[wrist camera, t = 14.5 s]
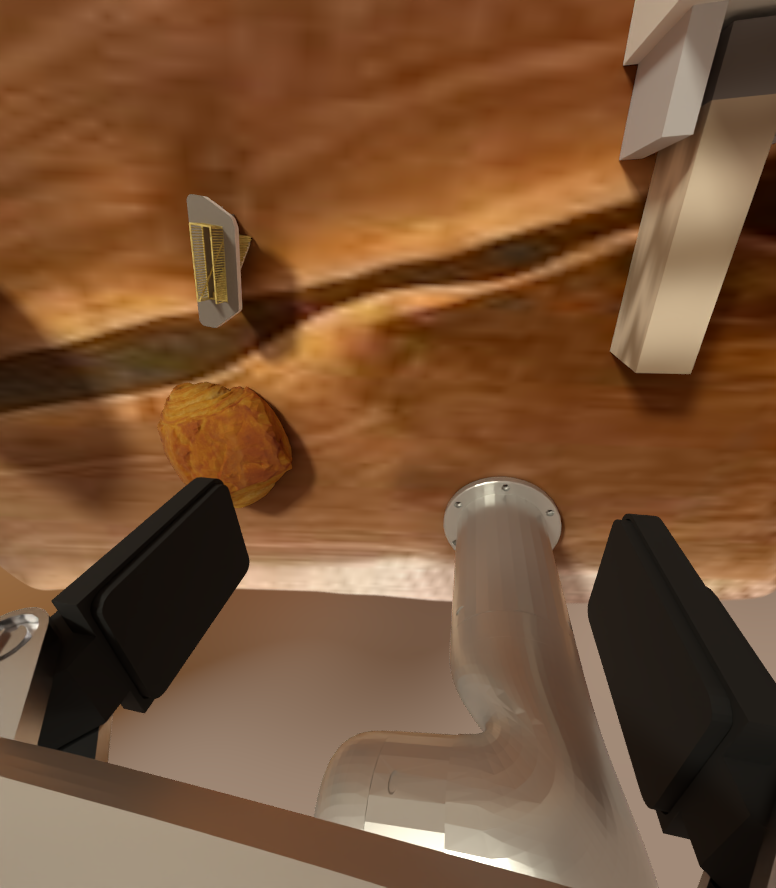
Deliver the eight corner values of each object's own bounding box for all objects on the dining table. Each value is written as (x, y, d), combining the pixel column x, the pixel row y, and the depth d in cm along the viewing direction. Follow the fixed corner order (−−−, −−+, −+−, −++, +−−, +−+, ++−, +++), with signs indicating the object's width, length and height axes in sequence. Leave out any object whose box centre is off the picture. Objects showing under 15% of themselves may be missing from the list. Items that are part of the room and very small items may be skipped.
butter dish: (311, 155, 30) (273, 136, 25) (304, 368, 39) (275, 390, 34) (175, 135, 32) (110, 112, 26) (199, 346, 41) (154, 363, 35)
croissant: (223, 481, 52) (188, 525, 45) (161, 380, 43) (106, 417, 37) (318, 477, 48) (293, 525, 41) (270, 364, 39) (229, 403, 33)
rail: (655, 352, 32) (690, 374, 26) (609, 351, 32) (635, 372, 27) (742, 60, 23) (818, 9, 18) (677, 68, 24) (734, 20, 19)
